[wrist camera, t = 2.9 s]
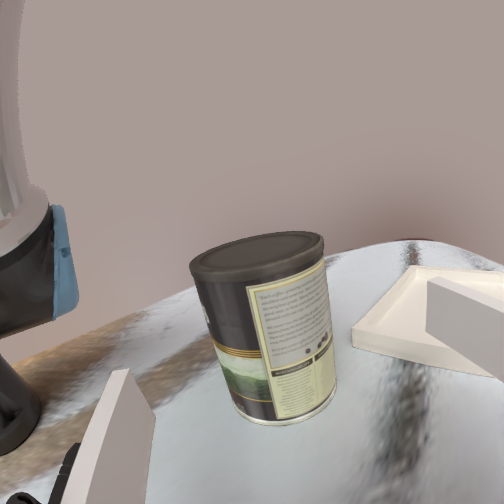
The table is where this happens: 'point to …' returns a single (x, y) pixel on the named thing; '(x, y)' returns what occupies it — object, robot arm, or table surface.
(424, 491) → the table surface
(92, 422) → the robot arm
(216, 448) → the table surface
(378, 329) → the serving tray
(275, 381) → the coffee can
